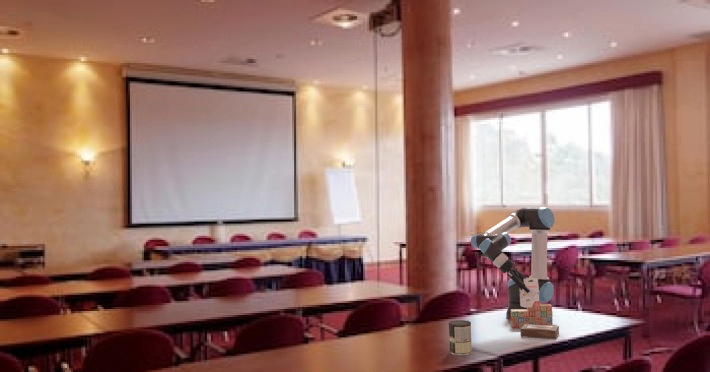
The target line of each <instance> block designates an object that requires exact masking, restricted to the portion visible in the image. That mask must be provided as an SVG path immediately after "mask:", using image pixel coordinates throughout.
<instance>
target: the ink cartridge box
mask: <svg viewBox="0 0 710 372" xmlns="http://www.w3.org/2000/svg"><path fill="white" fill-rule="evenodd" d="M527 278H528V279H524V284H525V285H526V286H528V287H529V288H530V289H531V290H532V291H533V292H534V293H535V294H536V295H535V296H534V297H533V298H531V297H530V296H529V295H528V294H527V293H526V292H525V291H524V290H523V289H522V290H520V306H522V307H525V308H526V307H538V306H539V303H540V302H539V284H538V278H529V277H527ZM530 280H533V282H528V281H530Z"/></svg>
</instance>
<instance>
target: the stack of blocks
mask: <svg viewBox="0 0 710 372" xmlns="http://www.w3.org/2000/svg"><path fill="white" fill-rule="evenodd" d="M525 324H536V325H553V305H552V304H550V303H545V302H539V306H538V307H527V309H511V319H510V327H511V328H512V329H521V328H522V327H523V326H524V325H525Z"/></svg>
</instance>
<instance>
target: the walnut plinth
mask: <svg viewBox="0 0 710 372" xmlns="http://www.w3.org/2000/svg"><path fill="white" fill-rule="evenodd" d="M559 327H560V325H557V324H556V325H536V324H525V325H524V326H523V327H522V328H520V338H532V339H533V338H538V339H553V340H556V339H557V338H558V336H559V334H560V328H559Z"/></svg>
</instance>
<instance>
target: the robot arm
mask: <svg viewBox="0 0 710 372" xmlns="http://www.w3.org/2000/svg"><path fill="white" fill-rule="evenodd" d="M555 220H556V219H555V214H554V212H553V211H552V209H551V208H549V207H548V206H547V207H545V206H535V207H534V206H533V207H531V206H530V207H522V208H519V209H517V210H515V211H512V212H511V213H509V214H507V216H506V217H505V218H504V219H503V220H502V221H500V222H498V223H496V224H494V226H492V227H490V228H488V229H487V230H485V231H484V232H482V233H481V234H472V236H471V238H470V244H471V246H472V247H473V248H475V249H478V250H480V252H481V253H482V254H483V255H484V256H486V257H487V258H488V259H489V261H491V262H492V264H493V266H496V267H497V268H499V271H500V272H501V273H502V274H506V273H507V274H506V275H507V276H508V277H509V278H510V279H509V280H508V281H507V289H508V290H507V291H508V294H507V295H508V296H507V297H508V306H507V310H506V313H505V314H506V315H505V317H506V319H509V320H511V309H527V307H526V308H525V307H522V306H520V290H522V289H523V290H524V291H525V292H526V293H527V294H528V295H529V296H530V297H531V298H533V297H534V296H535V295H536V294H535V293H534V292H533V291H532V290H531V289H530V288H529V287H528V286H526V285H525V284H524V279H528V278H538V284H539V303H548V302H550V301H551V299H552V298H553V296H554V292H555V291H554V290H555V288H554V287H555V286H554V284H553V283H552V282H551V281H550V277H548V234H549V233H550V232H551V228H553V227H554V224H555ZM520 228H529V229H528V231H529V232H531V260H530V261H531V265H530V266H531V272H530V273H531V274H530V275H529V277H527V276H525V275H524V274H523V273H522V272H521V271H520V270H518V268H514V267H513V266H514V264H515V263H514V261H512V260H511V259H509V257H508V256H507V254H505V253H504V252H503V250H505V249H506V248H508V246H509V245H510V244H511V243H512V238H511V235H510V234H509V233H510V232H512V231H513V230H516V231H517V230H518V229H520ZM528 282H533V280H530V281H528Z"/></svg>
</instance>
